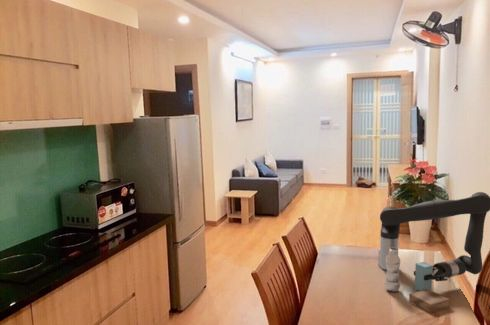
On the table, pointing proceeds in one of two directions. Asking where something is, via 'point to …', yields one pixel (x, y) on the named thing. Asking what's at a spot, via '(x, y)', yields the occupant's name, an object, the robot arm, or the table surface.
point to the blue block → (420, 271)
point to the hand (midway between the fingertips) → (419, 275)
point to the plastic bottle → (392, 270)
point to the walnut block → (429, 300)
